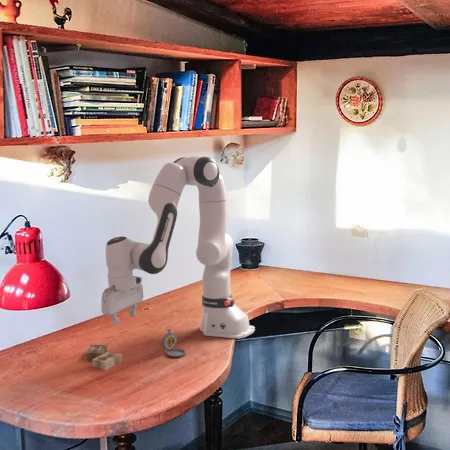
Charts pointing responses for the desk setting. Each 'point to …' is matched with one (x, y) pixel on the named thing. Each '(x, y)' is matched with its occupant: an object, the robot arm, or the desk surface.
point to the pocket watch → (171, 345)
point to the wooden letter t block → (107, 360)
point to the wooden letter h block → (95, 351)
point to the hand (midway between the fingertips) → (124, 320)
